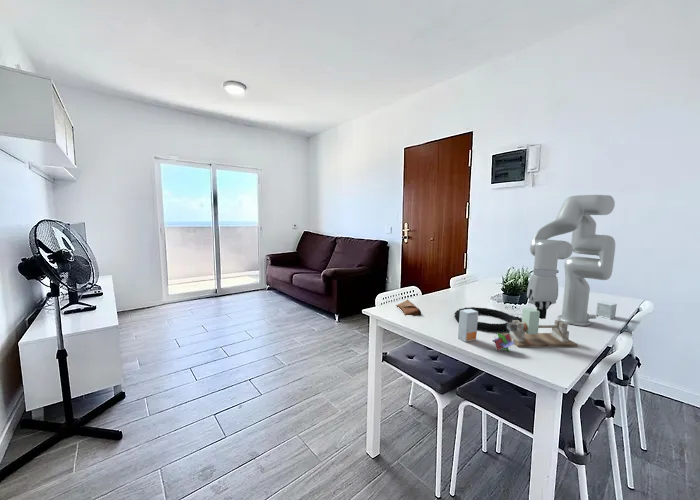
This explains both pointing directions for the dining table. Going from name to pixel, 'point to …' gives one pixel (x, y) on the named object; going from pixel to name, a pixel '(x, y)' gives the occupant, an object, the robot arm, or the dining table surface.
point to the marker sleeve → (531, 320)
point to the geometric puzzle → (503, 341)
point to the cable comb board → (540, 335)
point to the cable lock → (495, 314)
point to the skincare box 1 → (467, 325)
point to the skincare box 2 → (606, 309)
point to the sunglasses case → (409, 308)
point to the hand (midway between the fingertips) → (540, 317)
